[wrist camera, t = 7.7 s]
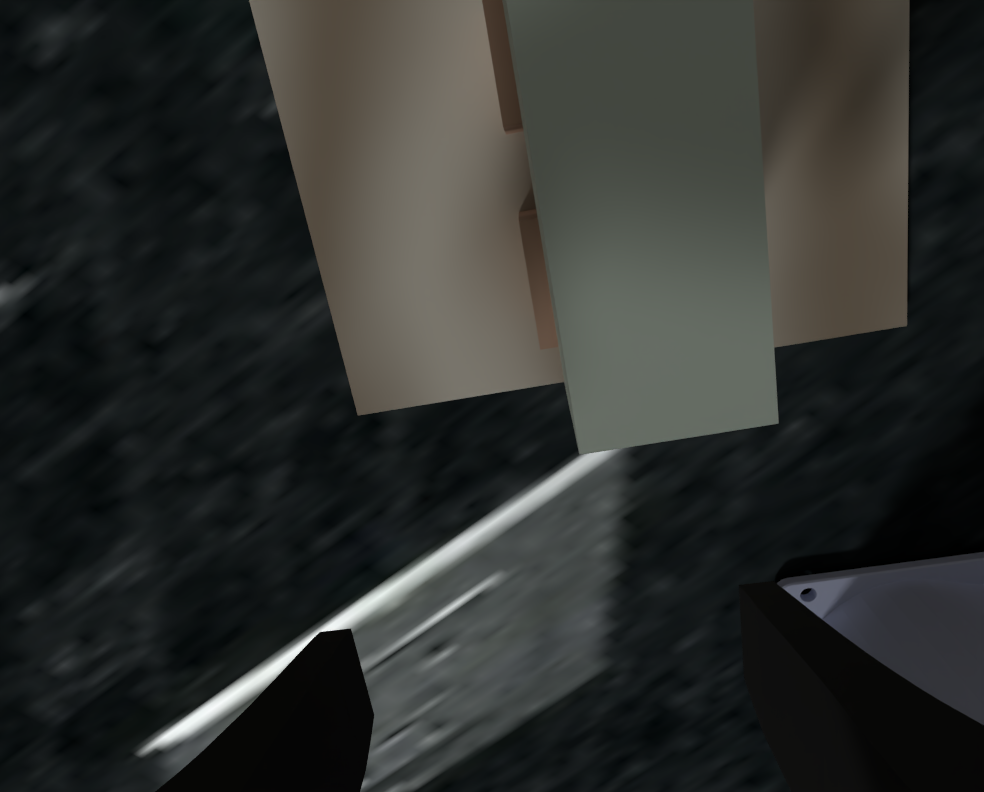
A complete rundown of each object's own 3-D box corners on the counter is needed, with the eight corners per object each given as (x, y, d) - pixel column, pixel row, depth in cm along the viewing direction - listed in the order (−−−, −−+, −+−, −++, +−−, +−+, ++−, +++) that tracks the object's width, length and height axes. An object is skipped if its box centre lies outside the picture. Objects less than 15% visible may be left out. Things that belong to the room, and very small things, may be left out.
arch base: (897, -174, 16) (1019, -285, 12) (895, 321, 20) (989, 358, 16) (249, -25, 17) (172, -82, 13) (362, 408, 21) (326, 463, 17)
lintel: (672, -135, 13) (736, -262, 9) (716, 362, 16) (778, 423, 12) (487, -91, 13) (474, -196, 9) (565, 388, 16) (579, 454, 12)
